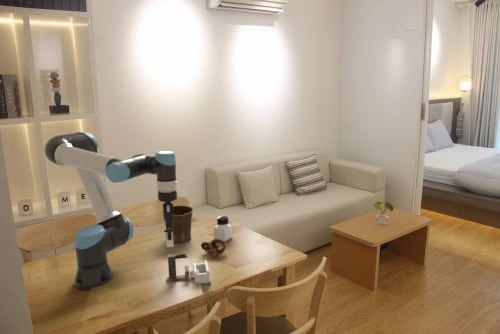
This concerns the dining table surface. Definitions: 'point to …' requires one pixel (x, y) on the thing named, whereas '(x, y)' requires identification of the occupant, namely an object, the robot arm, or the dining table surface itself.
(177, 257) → the phone
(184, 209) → the plant pot
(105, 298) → the dining table surface
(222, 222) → the medicine bottle
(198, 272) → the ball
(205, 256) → the dining table surface
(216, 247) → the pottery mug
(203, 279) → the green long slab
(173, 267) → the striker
